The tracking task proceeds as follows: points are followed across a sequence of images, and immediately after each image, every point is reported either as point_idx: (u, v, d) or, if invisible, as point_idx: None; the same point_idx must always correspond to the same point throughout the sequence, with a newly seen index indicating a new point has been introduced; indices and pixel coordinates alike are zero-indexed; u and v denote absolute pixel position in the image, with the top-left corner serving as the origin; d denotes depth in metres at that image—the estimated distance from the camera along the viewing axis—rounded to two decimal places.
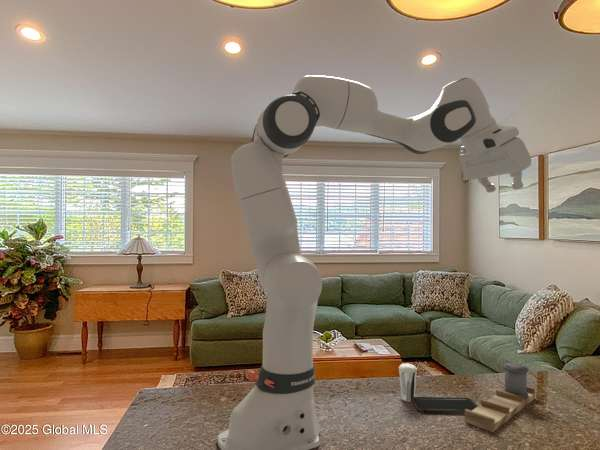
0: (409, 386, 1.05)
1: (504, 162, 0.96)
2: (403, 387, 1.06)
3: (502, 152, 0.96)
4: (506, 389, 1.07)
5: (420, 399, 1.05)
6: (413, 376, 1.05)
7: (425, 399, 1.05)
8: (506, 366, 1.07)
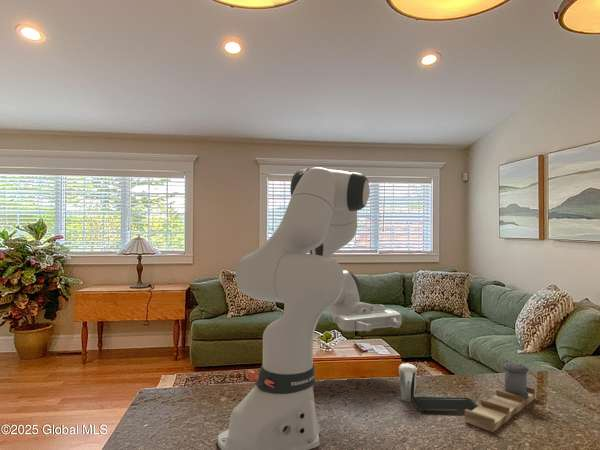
0: (409, 385, 1.05)
1: (386, 313, 1.27)
2: (403, 387, 1.06)
3: (384, 311, 1.30)
4: (506, 389, 1.07)
5: (420, 399, 1.05)
6: (413, 376, 1.05)
7: (425, 399, 1.05)
8: (506, 366, 1.07)
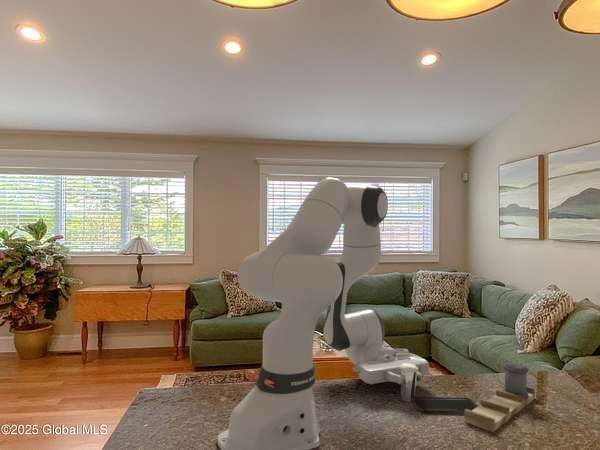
0: (410, 385, 1.05)
1: (412, 360, 1.15)
2: (403, 387, 1.06)
3: (408, 357, 1.18)
4: (506, 389, 1.07)
5: (420, 399, 1.05)
6: (414, 376, 1.05)
7: (425, 399, 1.05)
8: (506, 366, 1.07)
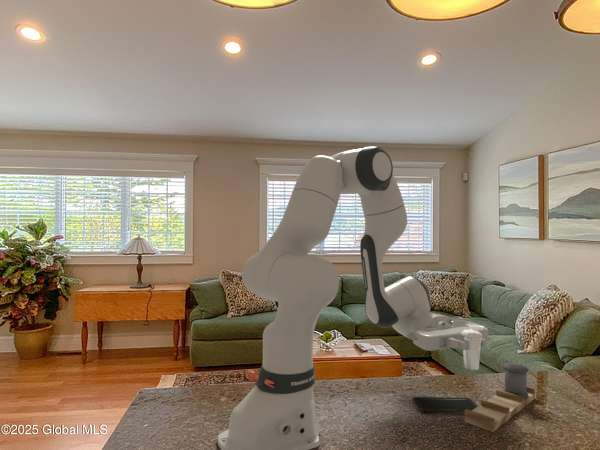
0: (474, 353, 0.96)
1: (470, 327, 1.06)
2: (467, 354, 0.97)
3: (464, 325, 1.09)
4: (506, 389, 1.07)
5: (420, 399, 1.05)
6: (478, 342, 0.96)
7: (425, 399, 1.05)
8: (506, 366, 1.07)
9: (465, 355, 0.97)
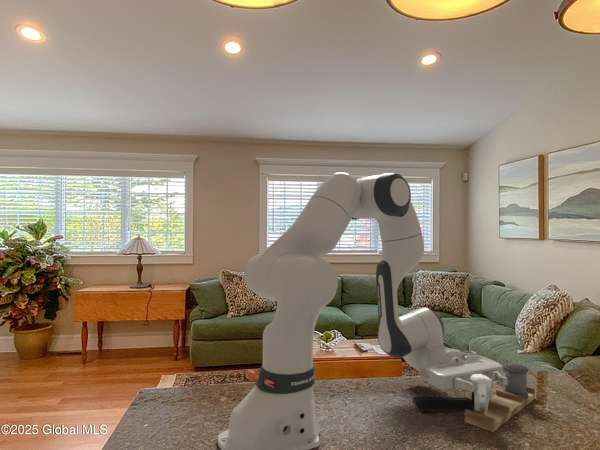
0: (484, 399, 0.93)
1: (484, 363, 1.04)
2: (476, 400, 0.94)
3: (478, 360, 1.07)
4: (506, 389, 1.07)
5: (420, 399, 1.05)
6: (488, 388, 0.93)
7: (425, 399, 1.05)
8: (506, 366, 1.07)
9: (474, 401, 0.94)
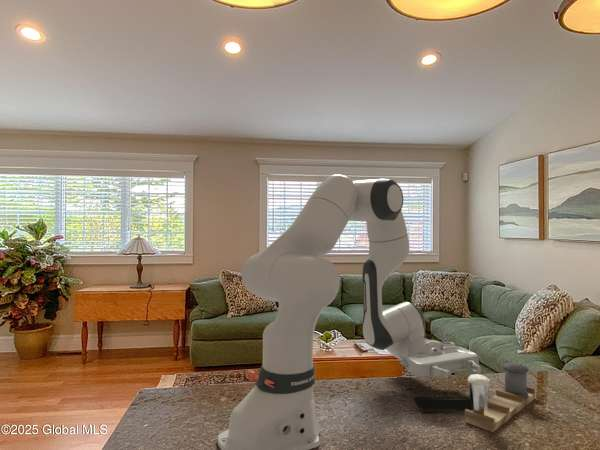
0: (482, 400, 0.93)
1: (461, 353, 1.12)
2: (475, 401, 0.94)
3: (456, 350, 1.14)
4: (506, 389, 1.07)
5: (420, 399, 1.05)
6: (486, 389, 0.93)
7: (425, 399, 1.05)
8: (506, 366, 1.07)
9: (473, 402, 0.94)
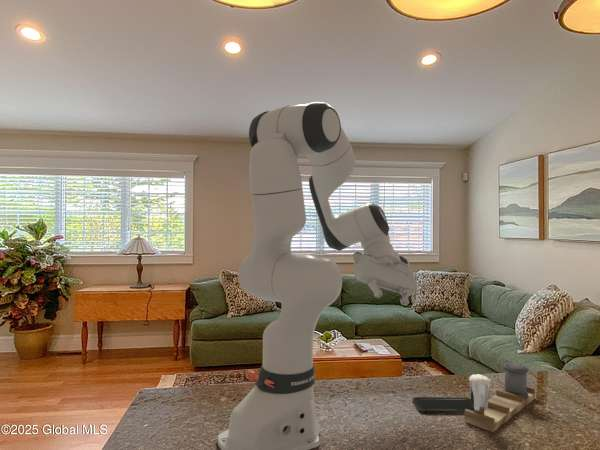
0: (483, 400, 0.93)
1: (406, 279, 1.17)
2: (475, 401, 0.94)
3: (405, 272, 1.19)
4: (506, 389, 1.07)
5: (420, 399, 1.05)
6: (487, 389, 0.93)
7: (425, 399, 1.05)
8: (506, 366, 1.07)
9: (473, 402, 0.94)
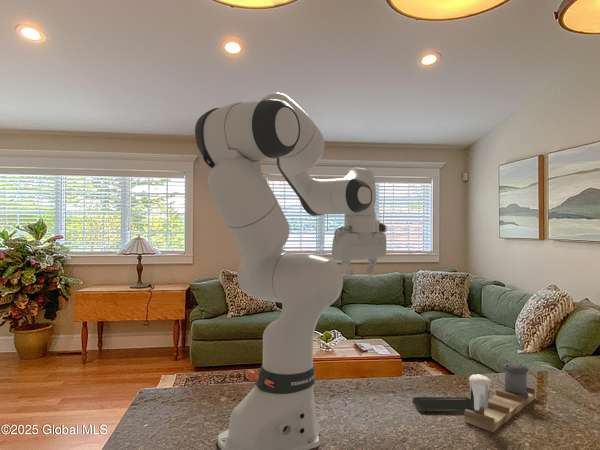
0: (483, 400, 0.93)
1: (378, 247, 1.19)
2: (475, 401, 0.94)
3: (379, 239, 1.20)
4: (506, 389, 1.07)
5: (420, 399, 1.05)
6: (487, 389, 0.93)
7: (425, 399, 1.05)
8: (506, 366, 1.07)
9: (473, 402, 0.94)
